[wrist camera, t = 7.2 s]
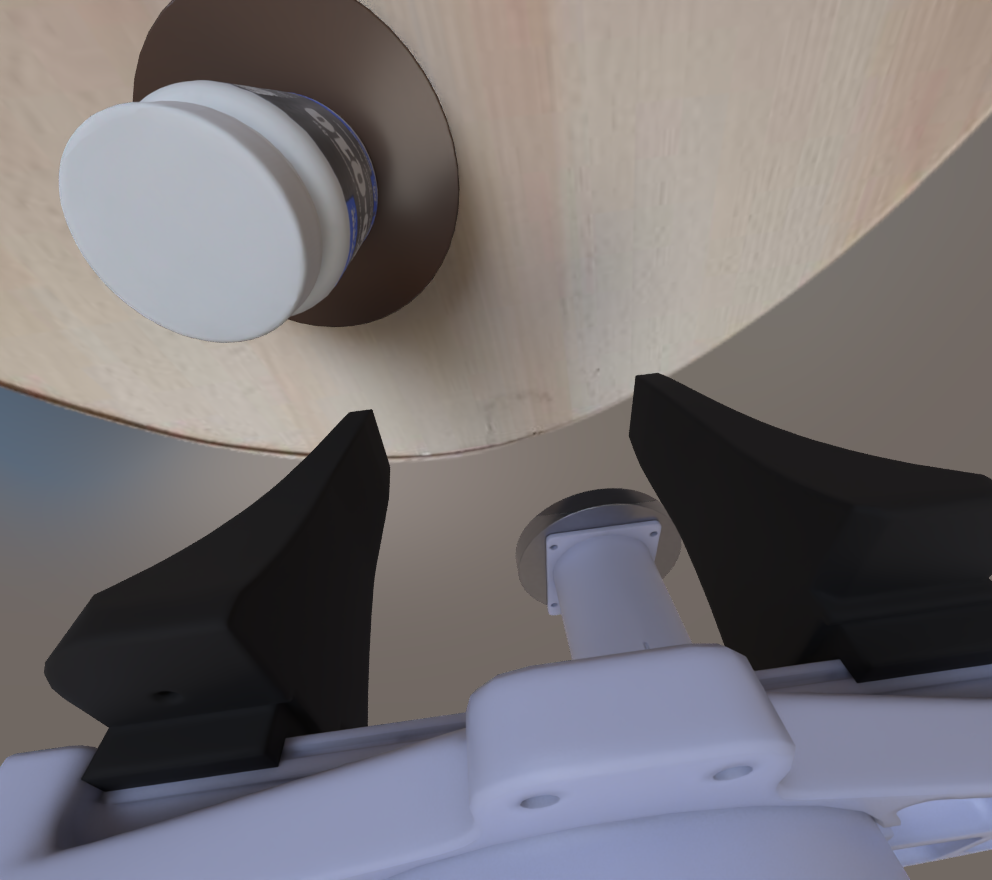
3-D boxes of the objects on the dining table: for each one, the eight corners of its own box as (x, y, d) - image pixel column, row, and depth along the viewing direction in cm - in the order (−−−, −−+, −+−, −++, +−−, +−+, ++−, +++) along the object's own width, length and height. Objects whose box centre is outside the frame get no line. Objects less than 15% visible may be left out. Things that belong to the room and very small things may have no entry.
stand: (472, 291, 20) (475, 311, 18) (247, 318, 19) (225, 341, 17) (433, -30, 14) (431, -54, 12) (107, 3, 13) (49, -15, 11)
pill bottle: (397, 244, 16) (364, 340, 9) (270, 268, 16) (146, 382, 9) (350, 76, 13) (254, 40, 6) (196, 107, 13) (-59, 104, 6)
